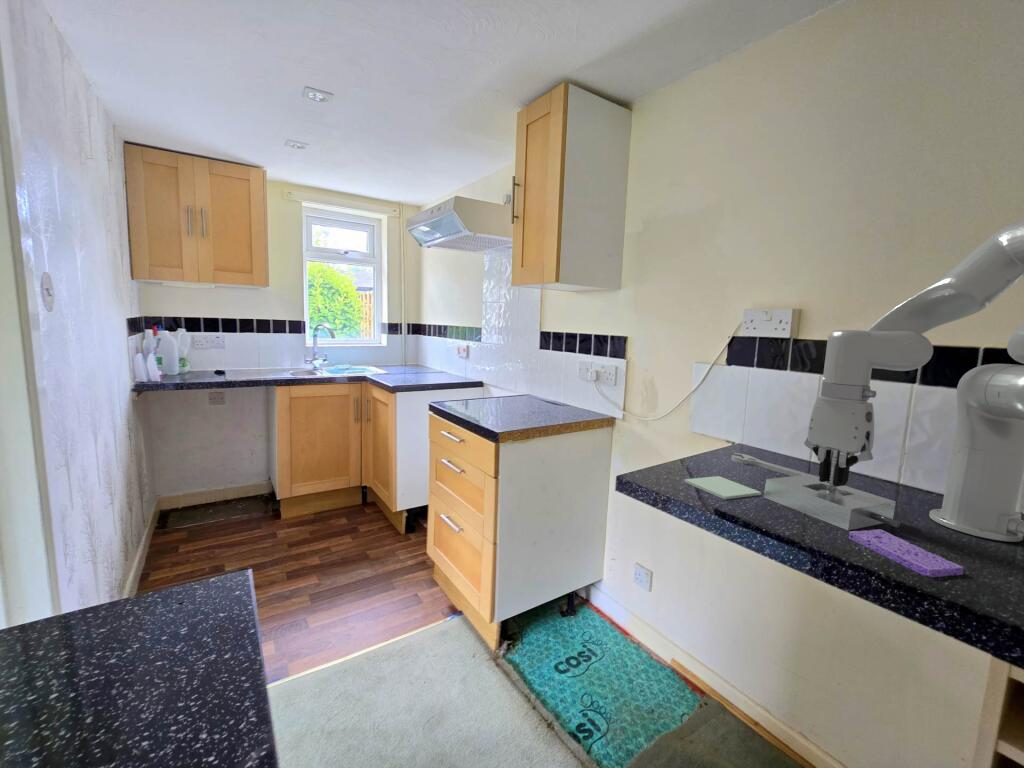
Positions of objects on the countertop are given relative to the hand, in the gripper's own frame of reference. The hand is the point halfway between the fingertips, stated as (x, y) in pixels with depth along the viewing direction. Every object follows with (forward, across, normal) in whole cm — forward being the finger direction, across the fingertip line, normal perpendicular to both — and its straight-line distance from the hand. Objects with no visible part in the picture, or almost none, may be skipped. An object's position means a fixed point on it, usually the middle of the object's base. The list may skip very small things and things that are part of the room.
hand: (832, 482), depth 90 cm
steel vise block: (+6, -2, +1) cm, 6 cm away
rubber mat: (+5, +15, +13) cm, 21 cm away
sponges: (+6, -17, +9) cm, 20 cm away
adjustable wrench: (+6, +22, -16) cm, 28 cm away
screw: (+5, 0, 0) cm, 5 cm away
